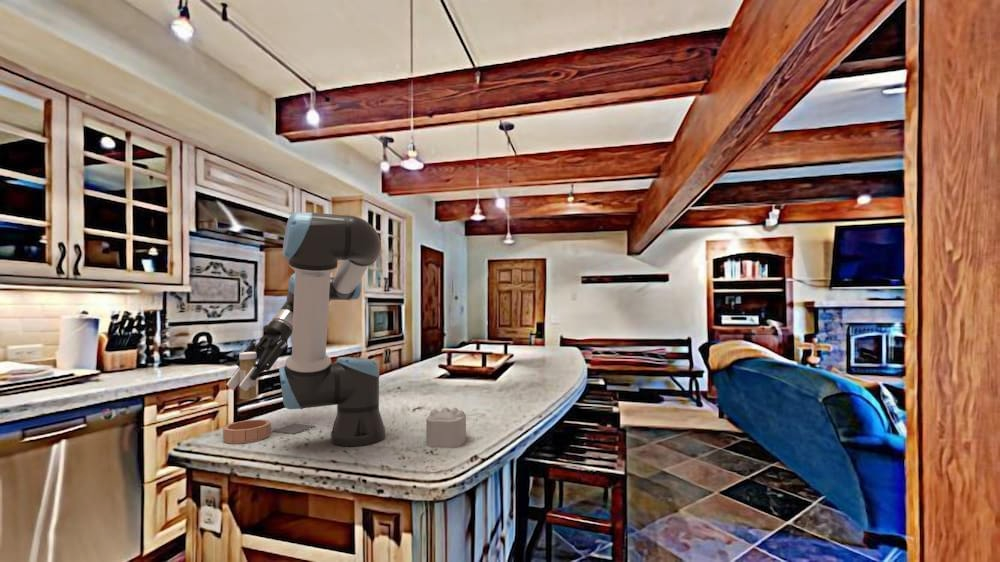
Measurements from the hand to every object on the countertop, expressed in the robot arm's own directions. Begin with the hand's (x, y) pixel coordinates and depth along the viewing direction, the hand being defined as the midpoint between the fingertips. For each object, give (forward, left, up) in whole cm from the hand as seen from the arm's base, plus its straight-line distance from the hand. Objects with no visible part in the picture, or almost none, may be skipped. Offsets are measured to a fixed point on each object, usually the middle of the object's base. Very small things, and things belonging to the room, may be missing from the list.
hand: (236, 387), depth 137 cm
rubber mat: (-6, -15, -15) cm, 23 cm away
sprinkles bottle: (0, -4, -4) cm, 6 cm away
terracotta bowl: (0, -3, -15) cm, 16 cm away
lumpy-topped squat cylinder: (-58, -20, -16) cm, 63 cm away
